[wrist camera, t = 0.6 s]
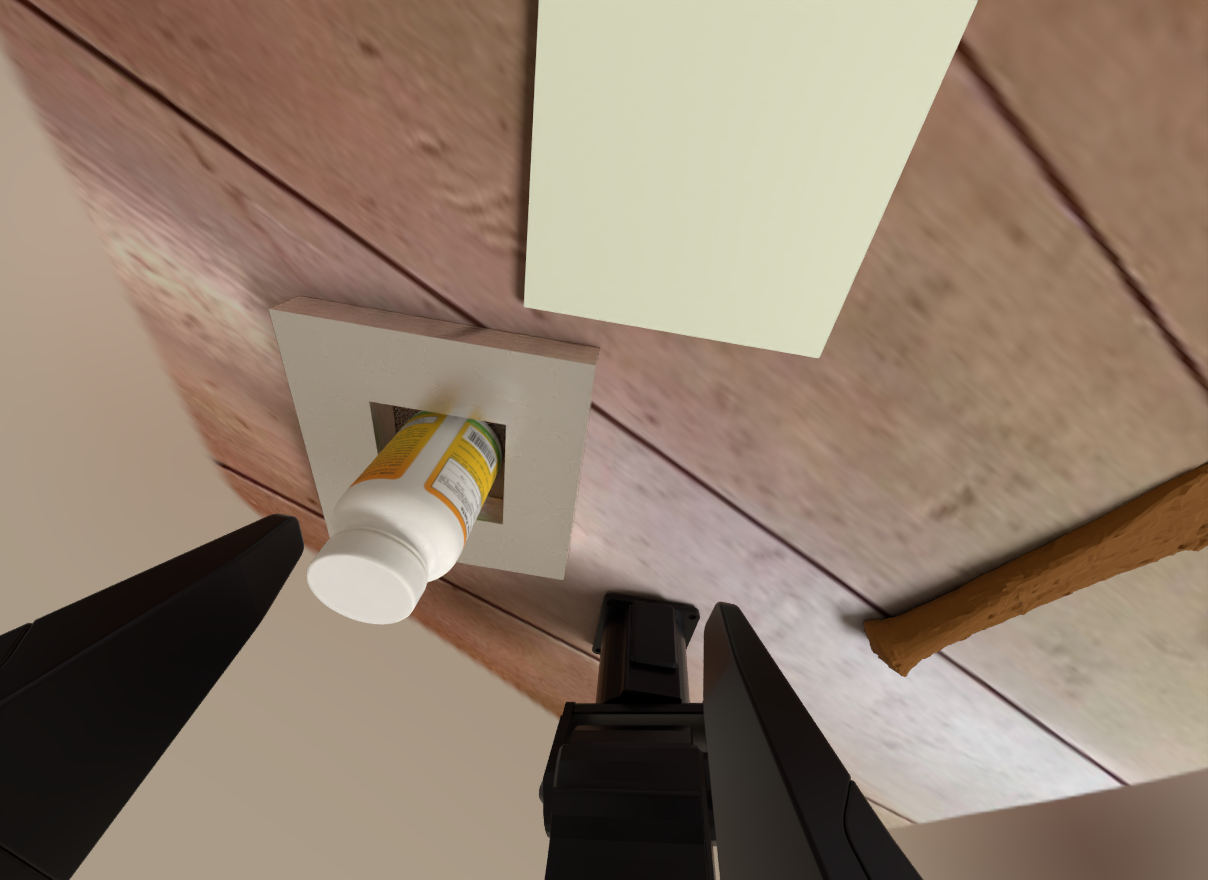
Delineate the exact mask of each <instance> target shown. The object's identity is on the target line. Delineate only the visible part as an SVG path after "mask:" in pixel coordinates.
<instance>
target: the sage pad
mask: <svg viewBox="0 0 1208 880" xmlns="http://www.w3.org/2000/svg"><path fill="white" fill-rule="evenodd" d="M977 1H978V0H539V9H538V29H537V49H536V70H535V90H534V110H533V130H532V151H531V171H530V191H529V212H528V232H527V252H526V272H525V293H524V307H528V308H533V309H539V310H545V311H550V312H556V313H562V314H568V315H573V316H579V317H585V318H591V319H596V320H602V321H608V322H614V323H619V324H625V325H631V326H637V327H642V328H648V329H654V330H659V331H665V332H671V333H677V334H682V335H688V336H694V337H700V338H705V339H711V340H717V341H723V342H728V343H734V344H740V345H746V346H751V347H757V348H763V349H769V350H774V351H780V352H786V353H791V354H797V355H803V356H809V357H814V358H819V357H820V355H821V353H822V351H823V348H824V346H825V344H826V342H827V339H828V337H829V335H830V333H831V330H832V328H833V326H834V323H835V321H836V319H837V317H838V314H839V312H840V310H841V308H842V305H843V303H844V301H845V299H846V296H847V294H848V292H849V290H850V287H851V285H852V283H853V281H854V278H855V276H856V274H857V272H858V269H859V267H860V265H861V263H862V260H863V258H864V256H865V254H866V251H867V249H868V247H869V245H870V242H871V240H872V238H873V236H874V233H875V231H876V229H877V227H878V224H879V222H880V220H881V218H882V215H883V213H884V211H885V209H886V206H887V204H888V202H889V200H890V197H891V195H892V193H893V191H894V188H895V186H896V184H897V181H898V179H899V177H900V175H901V172H902V170H903V168H904V166H905V163H906V161H907V159H908V157H909V154H910V152H911V150H912V148H913V145H914V143H915V141H916V139H917V136H918V134H919V132H920V130H921V127H922V125H923V123H924V121H925V118H926V116H927V114H928V112H929V109H930V107H931V105H932V103H933V100H934V98H935V96H936V94H937V91H938V89H939V87H940V85H941V82H942V80H943V78H944V76H945V73H946V71H947V69H948V67H949V64H950V62H951V60H952V58H953V55H954V53H955V51H956V49H957V46H958V44H959V42H960V40H961V37H962V35H963V33H964V30H965V28H966V26H967V24H968V21H969V19H970V17H971V15H972V12H973V10H974V8H975V6H976V3H977Z"/></svg>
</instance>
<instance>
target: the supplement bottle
mask: <svg viewBox="0 0 1208 880" xmlns="http://www.w3.org/2000/svg"><path fill="white" fill-rule="evenodd" d="M501 462H502V450H501V446H500V443H499V440H498V438H497V436H496V434H495V433H494V431H493V430H492V429H491V427H490V426H489V425H488V424H487V423H486V422H485V421H481V420H475V419H469V418H463V417H457V416H452V415H446V414H440V413H434V412H428V411H422V410H421V411H419V412H418V413H416V414H415V415H414V416H413V417H411V419H410V420H408V421H407V423H406V424H405V425H404V426H403V427H402V428H401V429H400V431H399V432H398V433H397V434H396V435H395V436H394V437H393V439H392V440H391V441H390V442H389V443H388V444H387V445H386V446H385V448H384V449H383V450H382V451H381V452H380V453H379V454H378V456H377V457H376V458H375V459H374V460H373V461H372V462H371V464H370V465H369V466H368V467H367V468H366V469H365V470H364V471H363V473H362V474H361V475H360V476H359V477H358V478H357V479H356V480H355V481H354V483H353V484H352V485H351V486H350V487H349V488H348V490H347V491H346V492H345V493H344V494H343V496H342V497H341V498H340V499H339V501H338V502H337V504H336V506H335V508H334V510H333V513H332V518H331V528H332V533H333V536H332V537H331V538H330V539H329V540H328V541H327V542H326V543H325V545H324V546H323V547H322V549H321V550H320V551H319V553H318V554H317V555H316V557H315V558H314V559H313V561H312V562H311V563H310V565H309V567H308V570H307V581H308V585H309V587H310V588H311V590H312V592H313V593H314V594H315V596H316V597H317V598H318V599H319V600H320V601H322V603H323V604H325V605H326V606H328V607H329V608H331V609H333V610H334V611H335V612H337V613H340V614H341V615H344V616H346V617H348V618H351V619H353V620H356V621H361V622H365V623H370V624H390V623H395V622H399V621H401V620H403V619H405V618H406V617H408V616H409V615H410V614H411V612H412V611H413V610H414V608H415V606H416V604H417V602H418V601H419V599H420V597H421V595H422V594H423V592H424V590H425V588H426V585H427V582H430V581H433V580H436V579H438V578H440V577H441V576H443V575H444V574H446V573H447V572H448V571H449V570H450V569H451V568H452V567H453V566H454V564H455V563H456V561H457V559H458V558H459V556H460V554H461V552H462V550H463V548H464V545H465V543H466V541H467V539H468V536H469V534H470V532H471V530H472V528H473V525H474V523H475V521H476V519H477V517H478V515H479V512H480V510H481V508H482V506H483V504H484V502H485V499H486V497H487V495H488V493H489V491H490V489H491V487H492V485H493V482H494V480H495V478H496V476H497V474H498V471H499V469H500V466H501Z"/></svg>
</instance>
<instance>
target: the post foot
mask: <svg viewBox="0 0 1208 880" xmlns="http://www.w3.org/2000/svg"><path fill="white" fill-rule="evenodd" d="M269 312H270V316H271V320H272V324H273V327H274V331H275V335H276V338H277V342H278V346H279V350H280V353H281V357H282V361H283V365H284V368H285V372H286V376H287V380H288V383H289V387H290V391H291V394H292V398H293V402H294V406H295V409H296V413H297V417H298V421H299V424H300V428H301V432H302V436H303V439H304V443H305V447H306V450H307V454H308V458H309V462H310V465H311V469H312V473H313V477H314V480H315V484H316V488H317V492H318V495H319V499H320V503H321V506H322V510H323V514H324V518H325V521H326V525H327V529H328V533H329V536H330V538H331V537H332V536H333V533H332V528H331V518H332V513H333V510H334V508H335V506H336V504H337V502H338V501H339V499H340V498H341V497H342V496H343V494H344V493H345V492H346V491H347V490H348V488H349V487H350V486H351V485H352V484H353V483H354V481H355V480H356V479H357V478H358V477H359V476H360V475H361V474H362V473H363V471H364V470H365V469H366V468H367V467H368V466H369V465H370V464H371V462H372V461H373V460H374V459H375V458H376V457H377V456H378V454H379V453H380V452H381V451H382V450H383V449H384V448H385V446H386V445H387V444H388V443H389V442H390V441H391V440H392V439H393V437H394V436H395V435H396V427H395V419H394V411H393V406H399V407H405V408H411V409H417V410H422V411H428V412H434V413H440V414H446V415H452V416H457V417H463V418H469V419H475V420H481V421H487V422H492V423H498V424H504V425H506V445H505V476H504V499H500V498H494V497H488V496H487V497H486V499H485V502H484V504H483V506H482V508H481V510H480V512H479V515H478V517H477V519H476V521H475V523H474V525H473V528H472V530H471V532H470V534H469V536H468V539H467V541H466V543H465V545H464V548H463V550H462V552H461V554H460V556H459V558H458V559H457V561H456V562H458V563H464V564H470V565H476V566H482V567H487V568H493V569H499V570H505V571H511V572H517V573H523V574H529V575H535V576H541V577H547V578H553V579H559V580H564V576H565V571H566V566H567V561H568V556H569V550H570V543H571V536H572V530H573V523H574V517H575V510H576V503H577V497H578V490H579V484H580V477H581V470H582V464H583V457H584V451H585V444H586V437H587V431H588V424H589V418H590V411H591V404H592V398H593V391H594V385H595V378H596V371H597V365H598V358H599V352H600V348H597V347H591V346H585V345H579V344H574V343H568V342H562V341H556V340H551V339H545V338H539V337H533V336H528V335H522V334H516V333H510V332H504V331H499V330H493V329H487V328H481V327H476V326H470V325H464V324H458V323H453V322H447V321H441V320H435V319H430V318H424V317H418V316H412V315H407V314H401V313H395V312H389V311H384V310H378V309H372V308H366V307H361V306H355V305H349V304H343V303H337V302H332V301H326V300H320V299H314V298H309V297H303V296H298V297H296V298H293V299H291V300H289V301H286V302H284V303H281V304H279V305H277V306H274V307H272V308H269Z"/></svg>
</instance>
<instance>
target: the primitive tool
mask: <svg viewBox="0 0 1208 880" xmlns="http://www.w3.org/2000/svg"><path fill="white" fill-rule="evenodd" d="M1206 546H1208V463H1207V464H1205V465H1202V466H1200V467H1198V468H1196V469H1194V470H1192V471H1190V472H1188V473H1186V474H1184V475H1182V476H1179V477H1177V478H1175V479H1173V480H1171V481H1168V482H1166V483H1165V484H1163V485H1161V486H1159V487H1157V488H1155V489H1153V490H1151V491H1149V492H1147V493H1145V494H1143V495H1142V496H1140V497H1138V498H1136V499H1134V500H1132V501H1130V502H1128V503H1127V504H1125V505H1123V506H1121V507H1119V508H1117V509H1115V510H1113V511H1111V512H1109V513H1107V514H1106V515H1104V516H1102V517H1100V518H1098V519H1096V520H1094V521H1092V522H1090V523H1088V524H1086V525H1084V526H1082V527H1080V528H1077V529H1075V530H1073V531H1071V532H1069V533H1067V534H1066V535H1064V536H1061V537H1060V538H1058V539H1056V540H1054V541H1052V542H1050V543H1048V544H1046V545H1045V546H1043V547H1041V548H1038V549H1036V550H1033V551H1031V552H1028V553H1026V554H1024V555H1022V556H1021V557H1019V558H1017V559H1014V560H1012V561H1010V562H1008V563H1006V564H1004V565H1002V566H1000V567H999V568H997V569H994V570H992V571H990V572H988V573H985V574H983V575H981V576H979V577H978V578H975V579H973V580H971V581H969V582H967V583H965V584H964V585H963V586H961V587H960V588H958V589H956V590H954V591H952V592H950V593H948V594H945V595H942V596H940V597H939V598H937V599H935V600H933V601H931V602H929V603H926V604H924V605H921V606H919V607H916V608H914V609H911V610H909V611H908V612H907V613H904V614H901V615H899V616H896V617H890V618H887V619H883V620H880V619H875V620H866V621H865V622H864V623H863V624H864V631H865V632H866V635H867V638H868V639H869V641H870V646H871V649H872V651H873V653H875V654H877V655H878V658H879V659H881V660H882V661H884V662H885V663H886V664H887V665H888V666H889V668H891V669H892V670H894V671H896V672H897V673H898V674H900V675H901V676H904V677H906V676H907V674H908V672H909V671H910V670H911V669H912V668H913V667H915V666H916V665H917V664H918V663H919V662H920V661H921V660H922V659H926V658H928V657H930V656H931V655H932V654H933V653H936V652H938V651H940V650H941V649H943V648H944V647H946V646H948V645H951V644H953V643H955V642H958V641H961V640H965V639H967V638H968V637H970V636H971V634H974V633H976V632H979V631H981V630H985V629H987V628H989V627H992V626H994V625H997V624H1000V623H1003V622H1004V621H1006V620H1008V619H1010V618H1013V617H1016V616H1018V615H1020V614H1021V615H1024V614H1026V613H1027V612H1028V611H1030V610H1032V609H1034V608H1036V607H1039V606H1041V605H1044V604H1047V603H1049V602H1052V601H1054V600H1057V599H1059V598H1061V597H1063V596H1067V595H1070V594H1072V593H1073V592H1074V591H1077V590H1079V589H1082V588H1085V587H1088V586H1090V585H1093V584H1095V583H1097V582H1099V581H1103V580H1106V579H1109V578H1111V577H1113V576H1115V575H1117V574H1120V573H1123V572H1127V571H1130V570H1133V569H1136V568H1138V567H1141V566H1144V565H1147V564H1149V563H1152V562H1157V561H1158V560H1160V559H1161V558H1164V557H1166V556H1169V555H1174V554H1175V553H1177V552H1180V551H1184V550H1193V551H1199V550H1201V549H1203V548H1204V547H1206Z"/></svg>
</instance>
